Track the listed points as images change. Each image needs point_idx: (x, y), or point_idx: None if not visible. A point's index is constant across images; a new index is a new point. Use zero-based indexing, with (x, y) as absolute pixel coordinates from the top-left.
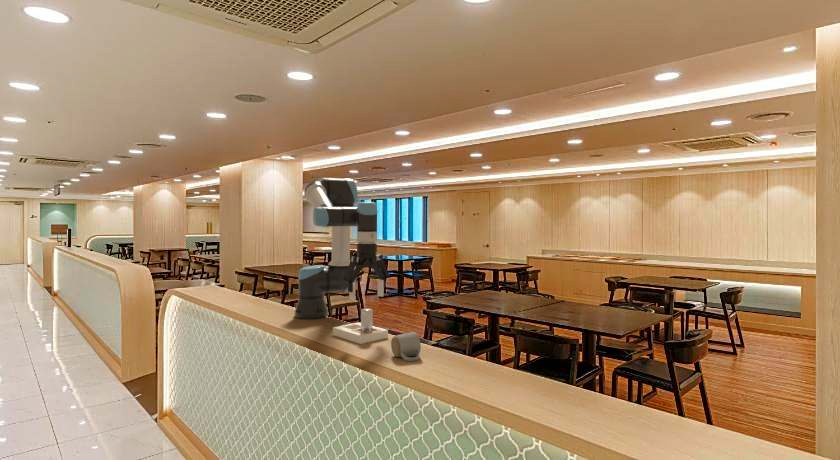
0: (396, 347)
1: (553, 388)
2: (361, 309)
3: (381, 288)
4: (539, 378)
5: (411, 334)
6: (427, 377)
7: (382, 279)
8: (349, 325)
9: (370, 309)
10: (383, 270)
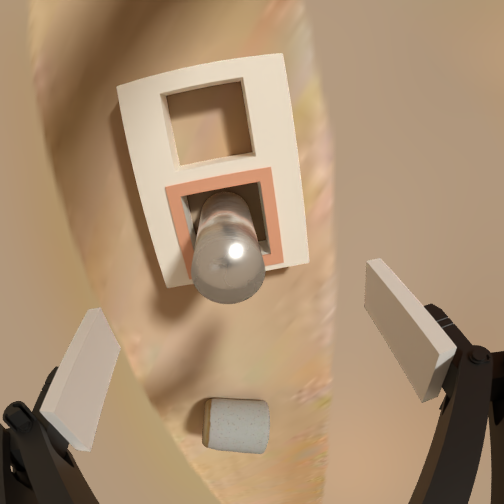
0: (203, 430)
1: (305, 498)
2: (203, 247)
3: (390, 342)
4: (322, 486)
5: (247, 452)
6: (204, 467)
7: (443, 388)
8: (204, 83)
9: (254, 274)
10: (497, 450)
